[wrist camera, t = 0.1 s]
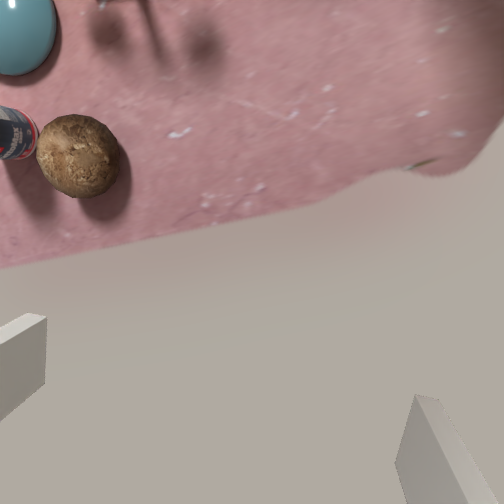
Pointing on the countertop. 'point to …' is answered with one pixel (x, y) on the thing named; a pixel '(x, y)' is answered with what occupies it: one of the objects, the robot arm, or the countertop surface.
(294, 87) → the countertop surface
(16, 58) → the dish
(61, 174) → the mushroom
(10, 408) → the robot arm
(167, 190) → the countertop surface
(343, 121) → the countertop surface
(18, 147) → the pill bottle
